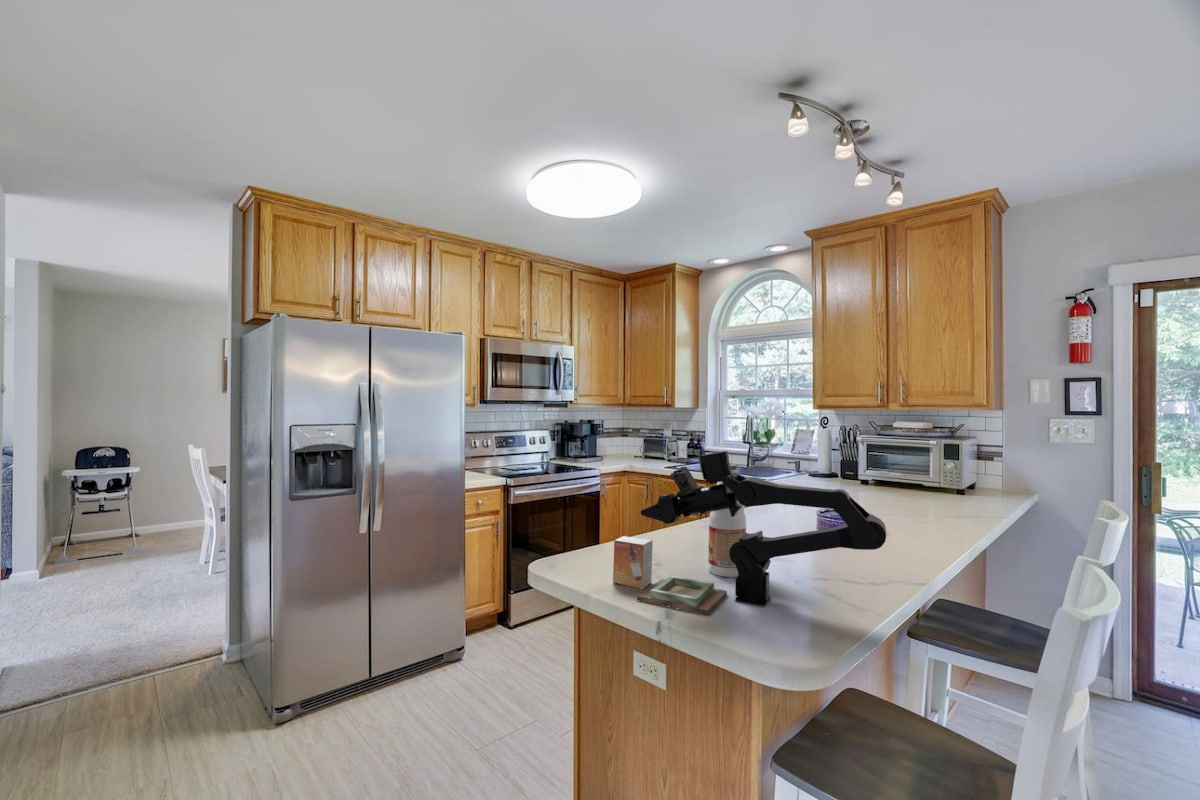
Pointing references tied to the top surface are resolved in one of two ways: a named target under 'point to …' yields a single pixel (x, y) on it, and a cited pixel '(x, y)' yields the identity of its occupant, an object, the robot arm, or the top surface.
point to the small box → (632, 561)
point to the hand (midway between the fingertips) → (648, 510)
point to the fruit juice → (724, 537)
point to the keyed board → (684, 594)
